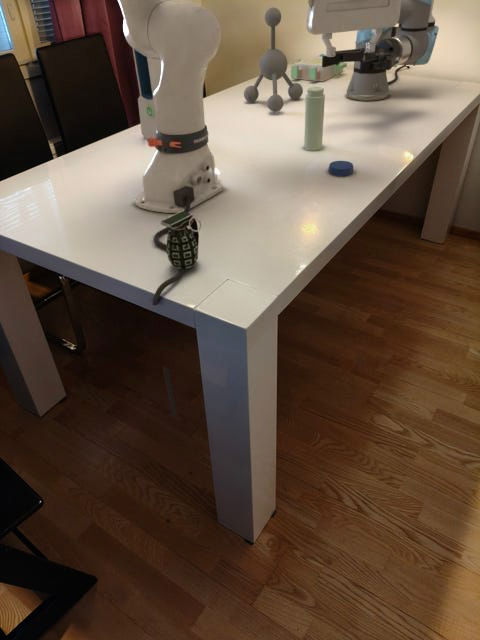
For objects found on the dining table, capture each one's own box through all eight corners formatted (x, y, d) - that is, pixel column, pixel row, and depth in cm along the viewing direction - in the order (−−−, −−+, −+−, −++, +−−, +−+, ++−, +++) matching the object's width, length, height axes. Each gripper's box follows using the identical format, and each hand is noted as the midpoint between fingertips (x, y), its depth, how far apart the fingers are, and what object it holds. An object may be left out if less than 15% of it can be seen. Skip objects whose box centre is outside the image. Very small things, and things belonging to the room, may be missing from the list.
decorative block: (312, 52, 220) (353, 55, 210) (311, 68, 224) (351, 71, 214) (282, 63, 204) (325, 66, 194) (282, 79, 208) (324, 84, 198)
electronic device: (141, 137, 154) (123, 28, 136) (159, 131, 158) (144, 24, 140) (166, 145, 147) (151, 30, 129) (185, 138, 151) (172, 26, 133)
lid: (354, 176, 122) (355, 168, 121) (329, 176, 122) (330, 169, 121) (350, 167, 126) (351, 160, 125) (327, 168, 127) (327, 160, 126)
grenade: (182, 278, 88) (175, 228, 82) (162, 268, 91) (153, 219, 85) (208, 263, 92) (203, 214, 85) (187, 253, 95) (181, 205, 89)
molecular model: (322, 103, 175) (328, 5, 157) (274, 116, 166) (273, 12, 147) (282, 92, 191) (282, 1, 172) (235, 103, 181) (230, 8, 163)
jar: (304, 145, 142) (305, 86, 132) (321, 144, 141) (324, 86, 132) (304, 150, 138) (306, 91, 128) (322, 150, 137) (325, 90, 128)
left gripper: (315, -18, 95) (312, 61, 103) (409, -25, 99) (398, 51, 107) (303, -19, 100) (301, 56, 108) (393, -26, 104) (384, 47, 112)
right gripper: (425, 72, 136) (376, 86, 126) (356, 61, 152) (308, 73, 142) (430, 41, 131) (380, 54, 122) (359, 34, 147) (309, 44, 137)
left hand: (350, 54), depth 108 cm, fingers open, 8 cm apart
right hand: (341, 64), depth 132 cm, fingers open, 13 cm apart
